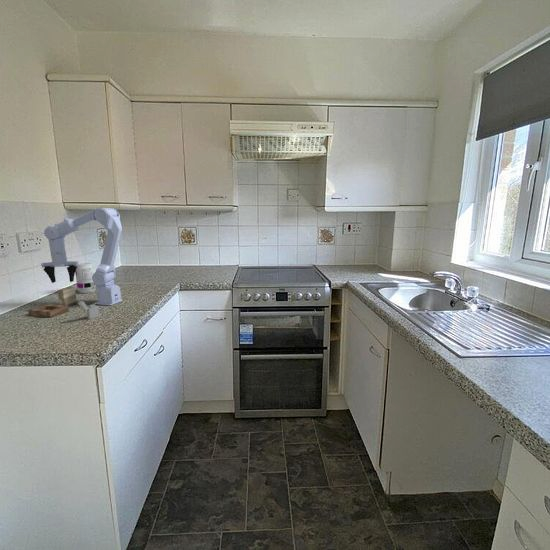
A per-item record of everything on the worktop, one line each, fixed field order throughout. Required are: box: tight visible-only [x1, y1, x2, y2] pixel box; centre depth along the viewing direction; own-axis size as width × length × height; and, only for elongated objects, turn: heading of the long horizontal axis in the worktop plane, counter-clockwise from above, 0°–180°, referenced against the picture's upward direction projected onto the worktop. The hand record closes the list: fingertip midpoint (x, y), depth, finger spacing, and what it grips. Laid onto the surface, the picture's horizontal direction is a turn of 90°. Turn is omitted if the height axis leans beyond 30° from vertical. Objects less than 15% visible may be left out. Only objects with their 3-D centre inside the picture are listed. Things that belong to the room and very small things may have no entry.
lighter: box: [77, 300, 100, 320], centre depth 124 cm, size 7×2×8 cm, turn 156°
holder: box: [28, 303, 70, 318], centre depth 131 cm, size 11×8×2 cm
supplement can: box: [74, 262, 97, 294], centre depth 164 cm, size 8×8×15 cm
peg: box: [57, 286, 78, 307], centre depth 141 cm, size 3×6×8 cm, turn 165°
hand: (62, 281), depth 144 cm, fingers open, 7 cm apart
